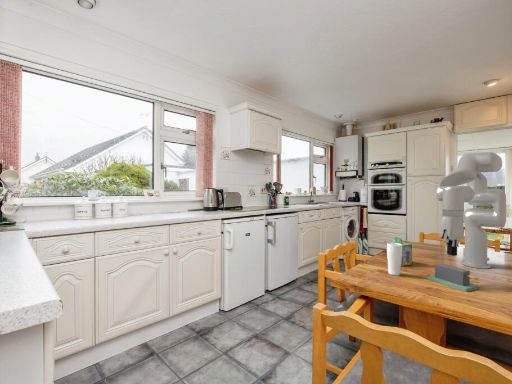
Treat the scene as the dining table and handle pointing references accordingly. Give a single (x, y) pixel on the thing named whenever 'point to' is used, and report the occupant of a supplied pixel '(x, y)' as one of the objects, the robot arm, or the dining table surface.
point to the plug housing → (453, 274)
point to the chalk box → (405, 252)
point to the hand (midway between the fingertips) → (451, 254)
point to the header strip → (463, 288)
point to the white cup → (394, 258)
